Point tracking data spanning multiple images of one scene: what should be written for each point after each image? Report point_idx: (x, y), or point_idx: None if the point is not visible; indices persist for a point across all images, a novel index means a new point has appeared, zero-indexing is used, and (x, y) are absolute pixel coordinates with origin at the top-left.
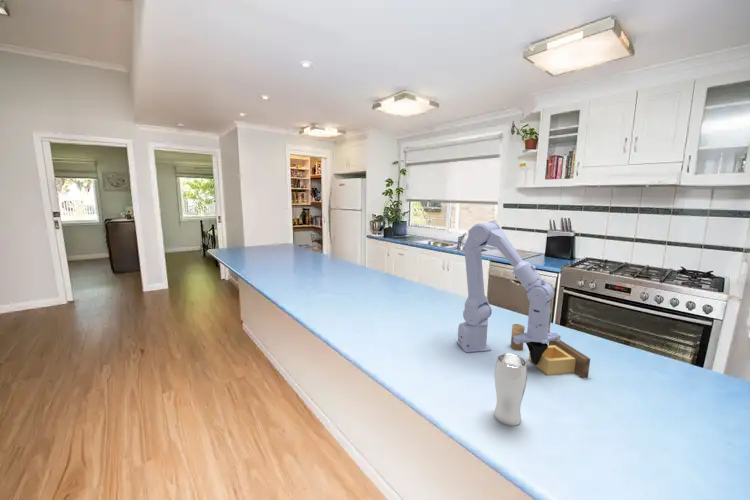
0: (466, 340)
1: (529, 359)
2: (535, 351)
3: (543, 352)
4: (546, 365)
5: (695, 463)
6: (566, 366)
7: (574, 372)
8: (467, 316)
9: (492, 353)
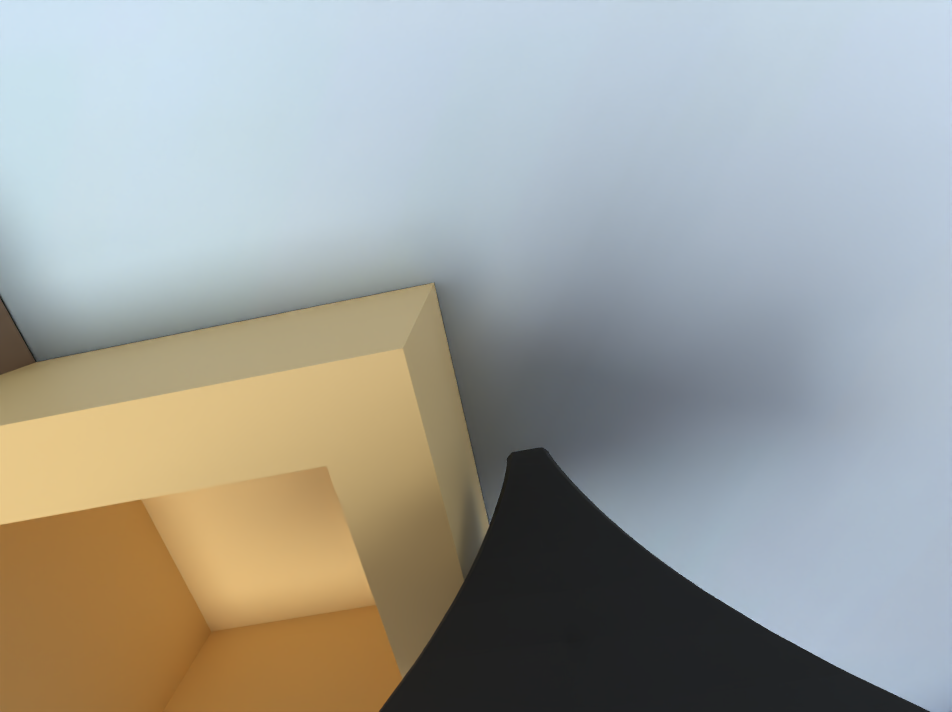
0: None
1: None
2: (765, 631)
3: (441, 630)
4: (431, 354)
5: None
6: (69, 376)
7: (30, 360)
8: None
9: None
